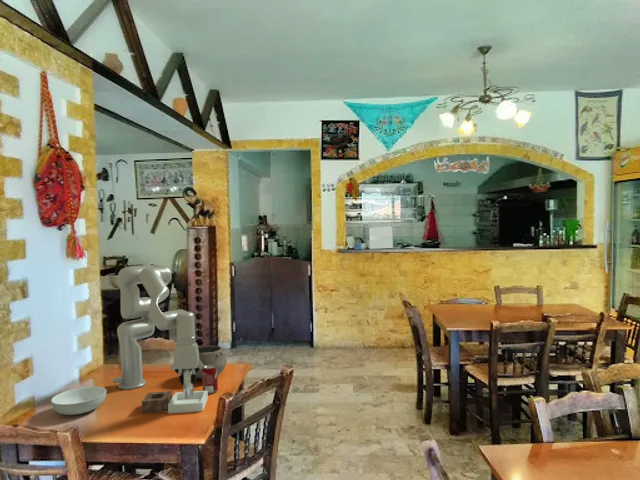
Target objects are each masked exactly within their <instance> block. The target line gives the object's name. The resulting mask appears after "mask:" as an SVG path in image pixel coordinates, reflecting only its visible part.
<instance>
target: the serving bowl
mask: <svg viewBox="0 0 640 480" xmlns="http://www.w3.org/2000/svg"><path fill="white" fill-rule="evenodd" d="M106 396H107V389H106V388H105V387H102V386H84V387H83V386H82V387H78V388H73V389H70V390H66V391H63V392H61V393H60V392H59V393H58V394H56V395H55V396H53V397H52V398H51V399H50V402H51V406H52V409H53V410H54V411H55V412H56V413H58V414H61V415H66V416H71V415H72V416H73V415H75V416H76V415H82V414H85V413H88V412H90V411H92V410H95V409H96V408H98V407H100V406H101V405H102V403H103V402H104V401H105V398H106Z"/></svg>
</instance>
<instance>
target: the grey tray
mask: <svg viewBox="0 0 640 480" xmlns="http://www.w3.org/2000/svg"><path fill="white" fill-rule="evenodd" d="M208 395H209V394H208V391H203V390H197V391H196V390H195V391H194V390H193V397H191V398H184V392H175V393H174V394H173V395H172V399H171V401H170V402H169V404H168V411H167V413H168V414H179V413H194V412H195V413H196V412H203V411H204V409H205V407H206V404H207V402H208V399H209V396H208Z"/></svg>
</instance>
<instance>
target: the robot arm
mask: <svg viewBox="0 0 640 480" xmlns="http://www.w3.org/2000/svg"><path fill="white" fill-rule="evenodd" d="M171 280H172V271H171V270H170V268H169V267H168V266H167V265H166V266H165V265H158V264H144V265H133V266H126V267H124V268H121V269H120V270H119V272H118V274H117V283H118V287H119V291H120V315H121V317H122V318H123V320H124V319H125V320H130V319H133V320H130V321H125V322H122V323H120V324H119V326H118V327H117V330H116V332H117V338H118V342H119V349H120V350H119V353H120V355H119V356H120V370H121V373H120V374H121V376H120V377H113V378H112V382H113V384H114V383H115V384H116V383H118V385H117V388H118V389H120V390H127V391H128V390H134V389H139V388H142V387H144V386H146V385H147V380H146V379H144V378H143V358H142V357H143V356H142V355H143V353H142V348H141V345H140V344H139V343H138V341H137V340H141V339H145V338H146V339H147V338H149V337H151V336H152V335H154V332H155V327H156V328H157V329H158V330H160V331H166V330H171V329H176V338H174V339H173V343H176V344H175V346H174V354H173V363H172V364H171V366H170V370H172V371H174V372H175V373H177V375H178V376H179V383H180V385H181V386H183V369H192V372H193V373H192V384H193V385H195V382H196V381H197V378H196V373H197V372H198V371H199V370H200V369H201V368H203V367H204V364H203V363H202V362H201V360H200V358H199V350H198V347H199V345H198V343H197V342H196V326H195V314H194V313H193V312H192V311H186V310H184V309H175V310H169V311H164V312H162V310H161V309H160V307H159V304H160V303H162V302H163V301H164V300H166V298H168V296H169V295H170V289H169V288H168V286H167V284H168V283H169V282H171ZM137 284H142V286H143V287H144V289H145V291H146V292H147V294H148V296H149V297H148V296H145V297H144V296H143V297H140V288H139V287H138V285H137ZM138 318H139V319H138ZM198 365H200V366H199V367H198Z"/></svg>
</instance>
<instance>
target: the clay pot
mask: <svg viewBox="0 0 640 480" xmlns="http://www.w3.org/2000/svg"><path fill="white" fill-rule="evenodd" d="M198 350H199V358H200V360H201V362H202V363H203V364H204V366H205V365H215V366H216V368H217V377H218V376H219V375H220V374H222V373H223V372H224V370H225V368H226V366H227V362H228V361H227V360H228V358H227V354H226V352H225V350H224V349H223V347H222V346H219V345H203V346H202V345H201V346H198ZM199 366H200V365H198V367H199ZM202 370H203V368H201V369H200V370H199V371H198V372H197V373H196V379H199V380H200V379H201V380H202ZM192 373H193V372H192Z"/></svg>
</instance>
